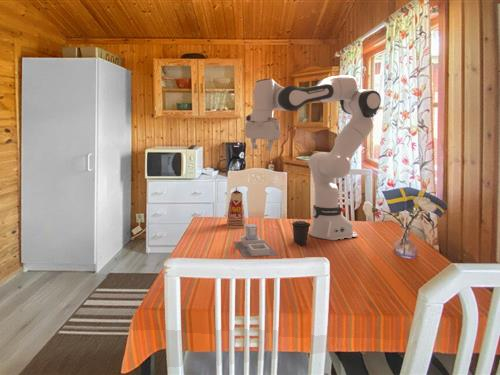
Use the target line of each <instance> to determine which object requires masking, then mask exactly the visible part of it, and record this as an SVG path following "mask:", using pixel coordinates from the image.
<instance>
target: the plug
mask: <svg viewBox="0 0 500 375" xmlns="http://www.w3.org/2000/svg"><path fill="white" fill-rule="evenodd" d="M244 236H245V239H246V240H257V236H258V225H256V223H252V224H251V223H249V224H247V223H246V224H245V235H244Z"/></svg>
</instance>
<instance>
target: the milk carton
mask: <svg viewBox="0 0 500 375" xmlns="http://www.w3.org/2000/svg"><path fill="white" fill-rule="evenodd" d="M244 208H245V207H244V199H243V193H242V192H241V191H239V190H238V187H235V190H234V191H233V192H232V193H230V197H229V202H228V212H227V219H226V220H227V221H226V228H233V229H234V228H237V229H246V219H245V218H246V217H245V209H244Z"/></svg>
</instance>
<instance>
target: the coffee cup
mask: <svg viewBox="0 0 500 375" xmlns="http://www.w3.org/2000/svg"><path fill="white" fill-rule="evenodd" d="M291 226H292V233H293V235H292V237H293V243H295V244H297V245H299V246H300V247H306V246H307V244H308V243H307V242H308V235H309V232H310V230H309V229H310V227H311V223H309V222H307V221H303V220H296V221H293V222H292V223H291Z"/></svg>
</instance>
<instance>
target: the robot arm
mask: <svg viewBox="0 0 500 375" xmlns="http://www.w3.org/2000/svg"><path fill="white" fill-rule="evenodd" d="M358 85H359V84H358V82H357V80H356V78H355V77H354V76H352V75H334V76H329V77H326V78H323V79H320V80H319V81H318V82H317V84H316V85H313V86H308V87H301V86H300V87H299V86H297V85H288V86H285V87H284V86H281V85H280V84H278V83H277V82H276V81H275V80H274V79H273V78H262V79H258V80H256V81H255V83H254V87H253V97H252V101H253V108H252V112H251V113H250V114H247V115H246V116H245V121H246V123H245V127H244V135H245V138H247V139H250V143H251V145H252V147H251V148H252V150H258V146H259V145H258V144H257V140H267V145H266V146H265V151H268V152H270V151H272V146H273V144H274V141H279V140H280V139H281V127H280V121H279V119H278V118H277V117H274V110H277V111H284V112H285V111H288V112H291V111H292V112H295V111H297V110H299V109H300V108H302V107H303V106H304V105H307V104H309V103H313V102H317V101H320V102H321V103H334V102H335V103H336V102H339V104H340V108H341V110H342V112H344V113H345V114H347V115H351V118H350V120H349V122H347V124H345V126H344V127H343V128H342V130H340V132H339V133H338V135H336V137H335V138H334V146H332V147H333V148H332V149H331V151H330V152H326V151H325V152H324V151H320V152H316V153H313V154H312V155H310V157H309V159H308V162H307V163H308V168H309V170H310V172H311V174H312V179H313V185H314V204H313V206H312V217H313V218H312V223H311V226H310V227H311V228H310V230H309V232H308V235H310V236H311V237H314V238H318V239H324V240H329V241H337V240H338V239H340V240H345V239H344V238H348V239H353V238H352V237H356V238H358V233H357V232H355V231H354V229H353V228H354V227H353V224H352V222H351V221H350V220H349V219H348V218H347V217H345V216H344V215H343V214H342V213H345V212H346V208H344V207H340V206H339V196H340V195H339V194H340V191H339V186H337V183H336V180H335V179H342V178H345V177H347V176H348V174H349V173H350V172H351V166H352V165H351V161H352V158H353V156H354V154H355V152H357V150H358V149H359V148H360V146H361V145H362V144H363V143H364V141H365V140H366V139H367V138H368V136H369V135H370V133H371V132H372V129H373V128H374V125H375V122H374V120H373V117H374V116H376V114H377V111H378V110H379V109H380V106H381V102H382V97H381V95H380V93H379V92H378V91H377V90H374V89H371V88H369V89H359V87H358ZM338 241H339V240H338Z"/></svg>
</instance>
